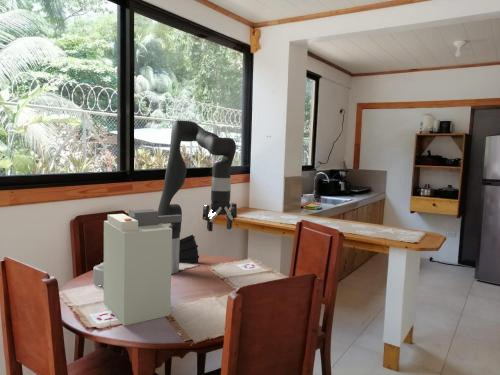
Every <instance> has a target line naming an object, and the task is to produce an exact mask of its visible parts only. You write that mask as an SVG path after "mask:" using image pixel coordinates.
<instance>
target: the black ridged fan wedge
mask: <svg viewBox="0 0 500 375" xmlns="http://www.w3.org/2000/svg"><path fill="white" fill-rule="evenodd" d="M195 238H196V236H195V235H193V234H190V235H188V236H185V237H182V238H181V239H180V251H179V264H181V263H183V264H193V265H194V264H195V265H197V264H198V263H199V259H200V255H199V250H198V244H197V242H196V239H195Z"/></svg>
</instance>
